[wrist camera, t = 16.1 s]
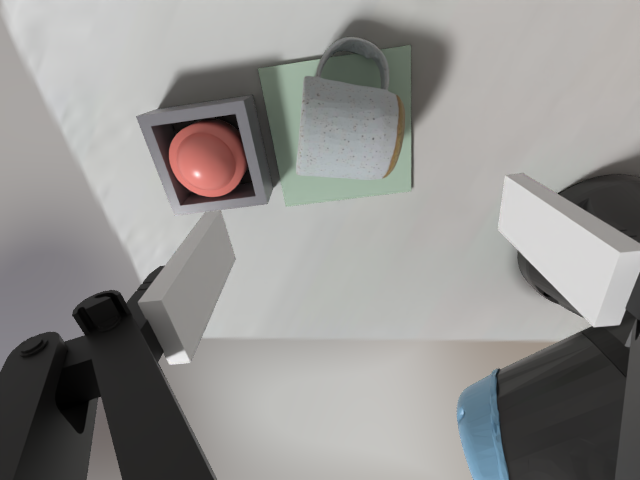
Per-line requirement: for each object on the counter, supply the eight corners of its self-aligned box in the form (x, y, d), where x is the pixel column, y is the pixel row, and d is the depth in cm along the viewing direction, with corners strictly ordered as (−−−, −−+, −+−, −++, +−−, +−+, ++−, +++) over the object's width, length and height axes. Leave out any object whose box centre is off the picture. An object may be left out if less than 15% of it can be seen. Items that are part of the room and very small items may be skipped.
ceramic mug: (380, 168, 33) (395, 196, 26) (297, 160, 32) (291, 187, 26) (403, 44, 28) (430, 39, 21) (305, 33, 27) (300, 24, 21)
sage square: (409, 44, 28) (410, 44, 28) (410, 189, 34) (411, 191, 34) (258, 68, 29) (257, 68, 29) (286, 205, 35) (285, 206, 35)
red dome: (240, 113, 30) (225, 124, 25) (256, 180, 33) (246, 201, 29) (172, 123, 30) (145, 135, 26) (194, 188, 34) (174, 210, 29)
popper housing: (252, 94, 30) (243, 100, 26) (273, 188, 34) (267, 204, 31) (157, 109, 31) (136, 116, 27) (189, 199, 35) (174, 215, 32)
